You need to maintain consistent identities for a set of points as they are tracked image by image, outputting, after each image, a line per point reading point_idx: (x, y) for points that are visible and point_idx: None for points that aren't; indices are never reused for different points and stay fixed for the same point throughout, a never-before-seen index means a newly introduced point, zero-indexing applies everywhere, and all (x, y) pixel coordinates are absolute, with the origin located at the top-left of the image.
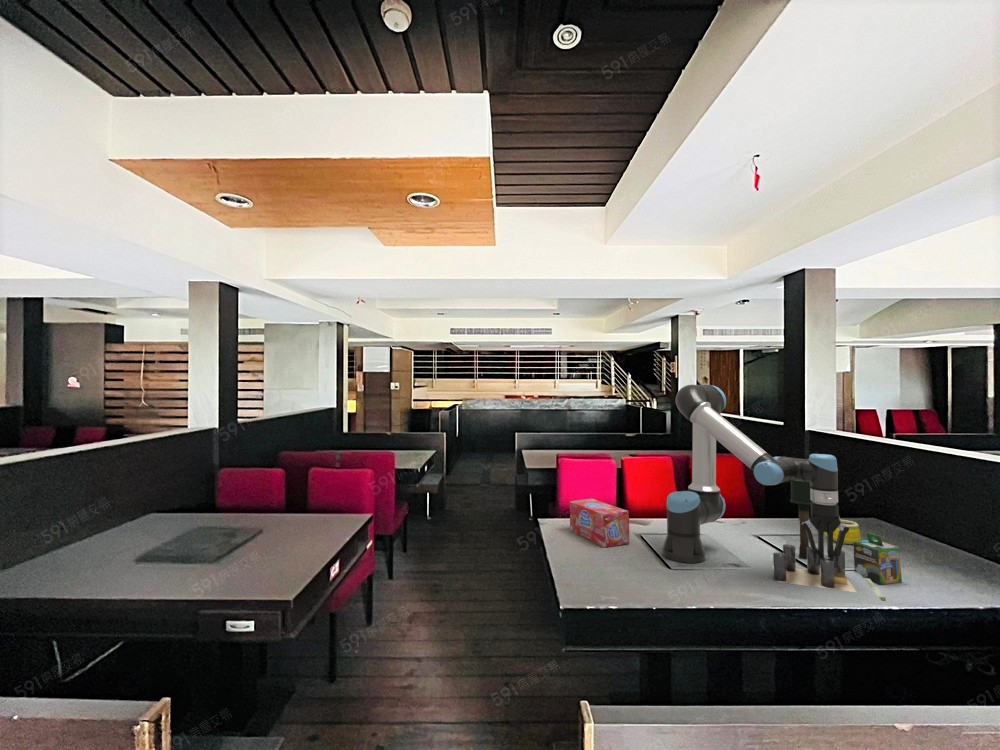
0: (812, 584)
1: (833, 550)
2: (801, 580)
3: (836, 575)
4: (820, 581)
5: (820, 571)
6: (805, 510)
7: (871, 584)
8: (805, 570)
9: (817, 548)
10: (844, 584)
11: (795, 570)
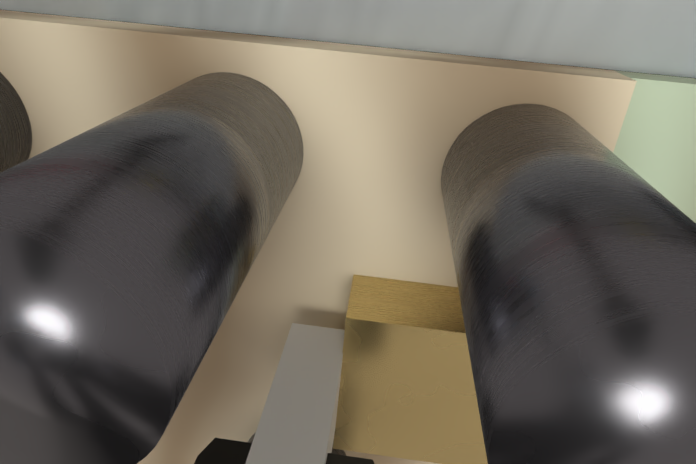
0: (179, 456)
1: (566, 408)
2: None
3: (409, 419)
4: (256, 386)
5: (330, 60)
6: None
7: None
8: (142, 84)
9: (121, 333)
10: None
11: (25, 155)
